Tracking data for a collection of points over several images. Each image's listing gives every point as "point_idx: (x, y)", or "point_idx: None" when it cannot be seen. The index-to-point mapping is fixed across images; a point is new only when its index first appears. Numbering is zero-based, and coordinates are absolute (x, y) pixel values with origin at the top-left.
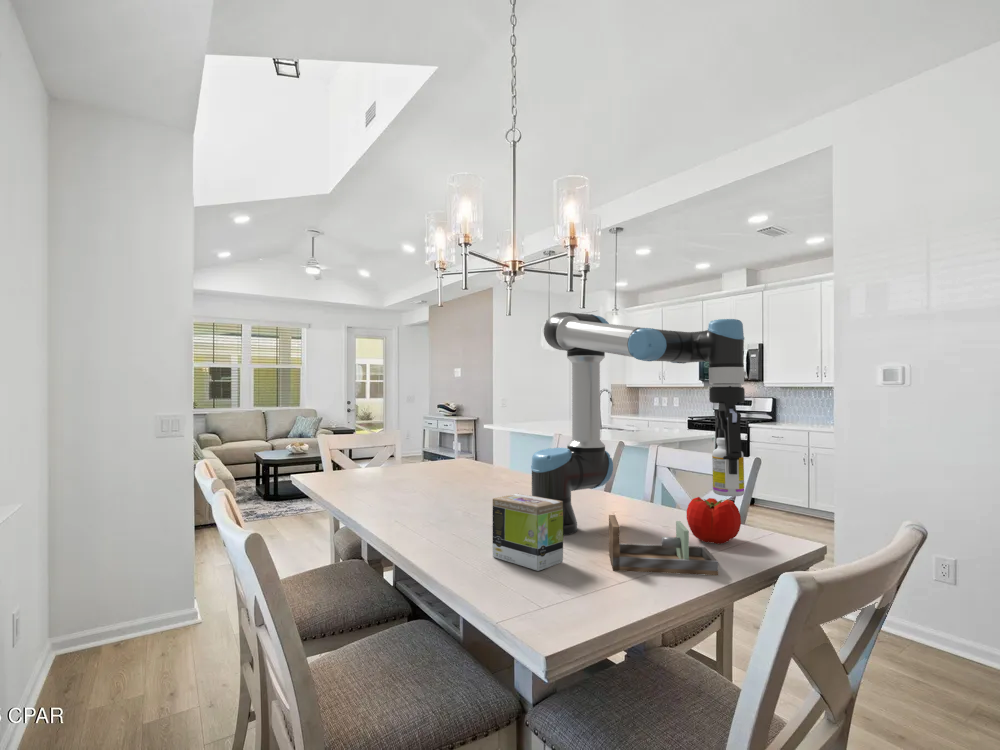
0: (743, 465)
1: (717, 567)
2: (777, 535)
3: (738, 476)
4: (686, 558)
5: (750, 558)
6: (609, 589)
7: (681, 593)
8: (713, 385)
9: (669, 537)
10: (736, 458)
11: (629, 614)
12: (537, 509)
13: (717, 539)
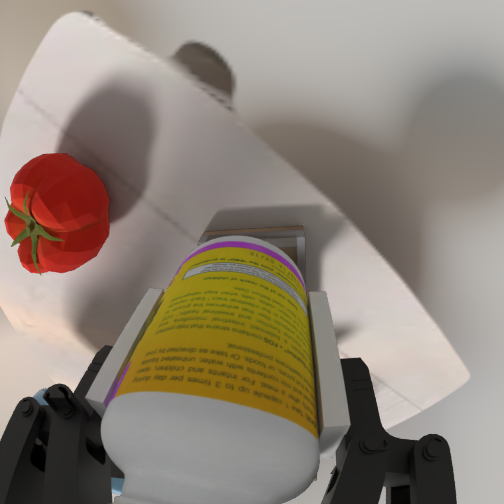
0: (254, 345)
1: (303, 233)
2: (24, 79)
3: (335, 337)
4: None
5: (170, 136)
6: (369, 365)
7: (387, 295)
8: None
9: None
10: (402, 443)
11: (434, 345)
12: (316, 477)
13: (109, 199)
